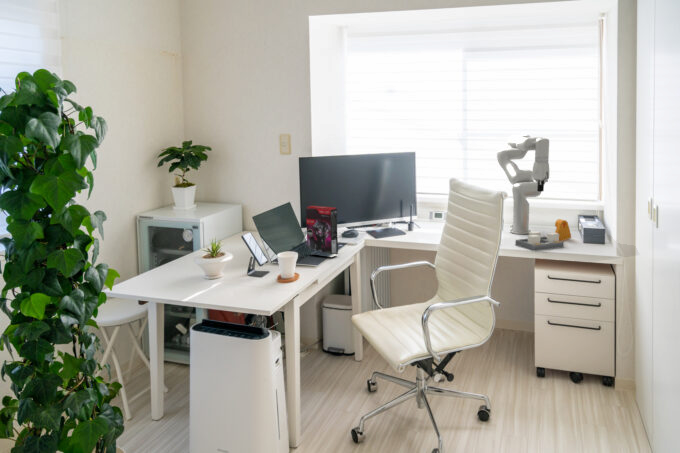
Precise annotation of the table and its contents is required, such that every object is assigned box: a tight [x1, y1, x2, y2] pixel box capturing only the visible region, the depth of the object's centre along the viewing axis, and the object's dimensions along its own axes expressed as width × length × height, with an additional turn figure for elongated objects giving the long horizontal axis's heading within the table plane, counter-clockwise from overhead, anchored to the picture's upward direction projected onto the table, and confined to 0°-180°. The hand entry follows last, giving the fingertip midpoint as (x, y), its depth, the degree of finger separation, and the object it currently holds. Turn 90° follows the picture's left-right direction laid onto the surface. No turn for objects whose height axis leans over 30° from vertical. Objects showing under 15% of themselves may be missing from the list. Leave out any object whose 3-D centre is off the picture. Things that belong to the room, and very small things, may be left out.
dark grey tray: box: [515, 236, 565, 252], centre depth 354 cm, size 16×21×3 cm
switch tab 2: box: [527, 234, 540, 245], centre depth 348 cm, size 4×5×5 cm
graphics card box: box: [305, 205, 339, 255], centre depth 340 cm, size 17×7×27 cm, turn 56°
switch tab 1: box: [528, 230, 542, 237], centre depth 357 cm, size 4×5×5 cm
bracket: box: [554, 218, 572, 241], centre depth 369 cm, size 11×7×12 cm, turn 110°
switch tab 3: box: [546, 232, 559, 242], centre depth 352 cm, size 4×5×5 cm
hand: (540, 191), depth 364 cm, fingers closed
